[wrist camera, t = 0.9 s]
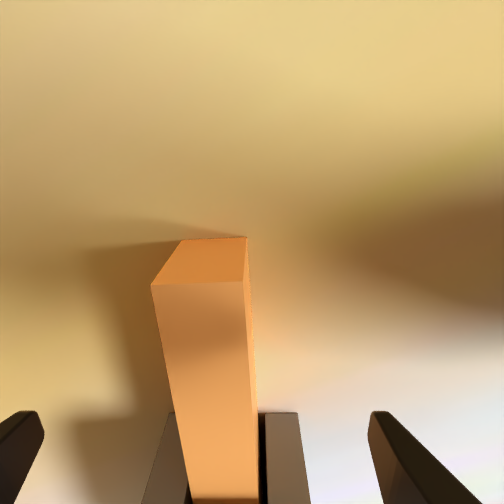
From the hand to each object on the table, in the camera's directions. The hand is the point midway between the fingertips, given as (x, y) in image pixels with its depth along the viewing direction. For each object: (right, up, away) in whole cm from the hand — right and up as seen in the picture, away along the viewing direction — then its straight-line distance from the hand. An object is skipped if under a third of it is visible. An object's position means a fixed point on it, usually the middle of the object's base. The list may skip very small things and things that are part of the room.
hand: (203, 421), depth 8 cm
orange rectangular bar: (0, -4, +11) cm, 11 cm away
